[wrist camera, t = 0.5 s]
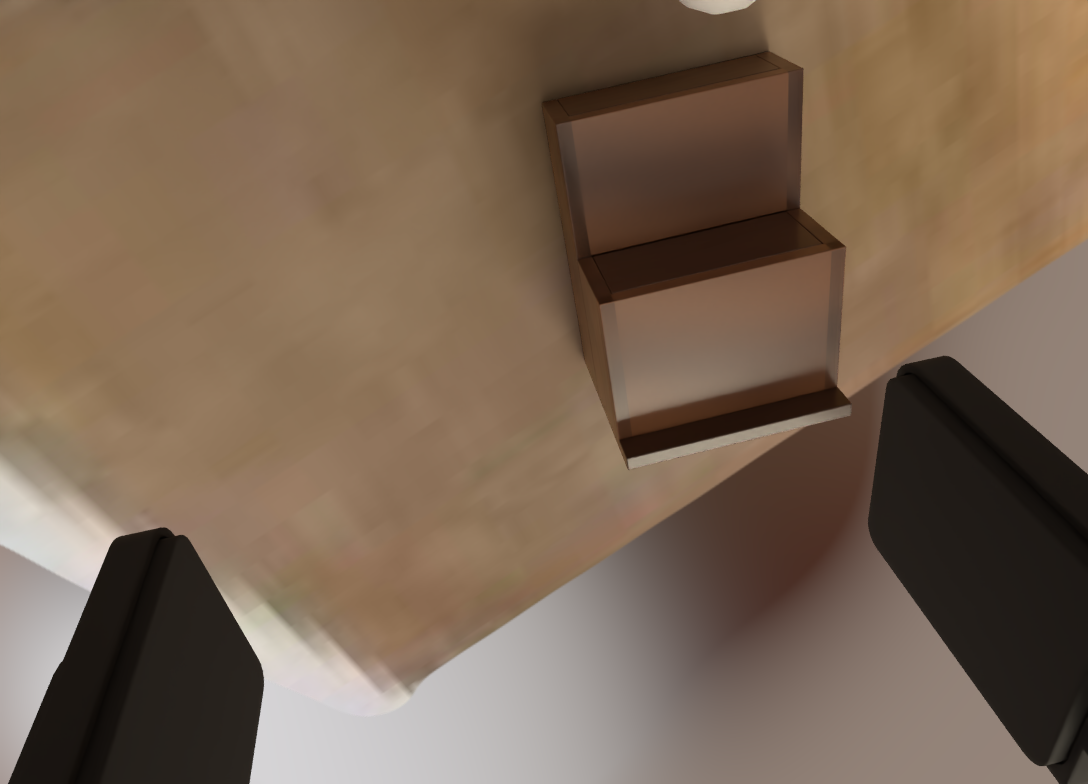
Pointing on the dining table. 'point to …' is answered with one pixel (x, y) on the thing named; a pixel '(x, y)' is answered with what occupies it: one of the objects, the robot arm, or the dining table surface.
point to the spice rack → (698, 257)
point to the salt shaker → (717, 5)
